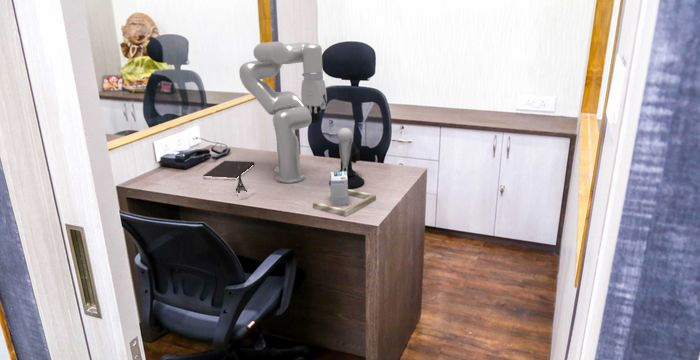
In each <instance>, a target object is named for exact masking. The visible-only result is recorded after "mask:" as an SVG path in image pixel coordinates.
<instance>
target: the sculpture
mask: <svg viewBox="0 0 700 360" xmlns="http://www.w3.org/2000/svg"><path fill="white" fill-rule="evenodd" d="M337 137H338V138H337V139H338V141H339V142H338V148H339V149H338V151H339V153H338V154H339V157H340V158H339V159H340V170H338V172H342V171H346V172H347V178H348V189H350V190H357V189H359V188H362V187H363V186H364V185H365V180H364V179H363V178H362V177H361V175H358V174H356V173H357V172H356V170H354V169H353V164H356V163H357V162H360V158H361V157H360V154H361V153H360V149H359V148H357V144H356V143H355V142H354V141H353V132H352V130H351V129H350V128H348V127H342V128H341V129H339V130H338V131H337ZM329 187H331V184H330V180H329Z"/></svg>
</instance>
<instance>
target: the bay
mask: <svg viewBox="0 0 700 360" xmlns="http://www.w3.org/2000/svg"><path fill="white" fill-rule="evenodd" d="M348 196H351V197H355V198H359V199H362V200H360V201H357V203H355V204H353V205H351V206H349V207H347V208H345V209H344V208H340V207H337V206H332V205H328V204H325V203H321V202H317V201H314V202H313V203H312V208H313V209H315V210H318V211H323V212H327V213H330V214H334V215H339V216H340V217H341V216H343V217H345V218H347V217H348V216H350V215H352V214H354V213H355V212H357V211H359V210H361V209H362V208H364V207H366V206H369V204H371V203H373V202H375V201H376V200H377V194H373V193H369V192H363V191H358V190H356V189H348Z"/></svg>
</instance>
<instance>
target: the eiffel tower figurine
mask: <svg viewBox="0 0 700 360" xmlns="http://www.w3.org/2000/svg"><path fill="white" fill-rule="evenodd" d="M238 173H239V178H238V180H237V186H236V188H235V190H236V191H237V192H238V193H240V191H243V190H244V191H246V192H247V190H248V189H247V188H245V187H246V186H245V185H244V184H243V180H242V176H241V175H240V167H239V164H238Z"/></svg>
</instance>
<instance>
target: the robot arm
mask: <svg viewBox="0 0 700 360" xmlns="http://www.w3.org/2000/svg"><path fill="white" fill-rule="evenodd" d="M253 57H254V58H255V60H251V61H246V62H244V63H243V64H242V65H240V67H239V71H238V72H239V78H240V81H241V83H242V85H243V86H244V88H245V89H246V90H247V91H248V92H249V93H250V94H251V95H252V96H253V97H254V99H256V101H258V103H259V104H260V105H261V107H262V108H263V109H264V111H265V112H266V113H267V114H269V115H271V116H272V123H273V127H274V132H275V136H276V137H275V138H276V146H277V158H278V166H276V167H275V169H274V170H273V172H274V173H277V176H276V177H275V178H276V179H275V180H276V181H277V182H279V183H281V182H282V184H283V183H284V184H295V183H299V182H301V181H303V180H304V179H305V174H303V173H302V172H301V171H302V170H301V158H300V157H301V156H300V142H299V138H298V136H297V135H296V133H295V132H294V131H297V130H300V129H304V128H307V127H309V126H310V125H311V123H312V124H313V123H314V124H317V123H320V122H321V119H320V117H321V115H320V113H321V111H322V110H325V109H327V103H328V96H327V87H326V83H325V80H324V74H323V73H324V72H323V71H324V70H323V49H322V46H321V45H320V44H317V43H314V44H313V43H309V42H296V43H288V44H284V43H283V42H281V41H267V42H260V43H259V44H257V45H256V46H255V47H254V49H253ZM301 63H302V68H303V70H302V71H303V73H302V77H303V79H302V81H301V91H300V94H301V95H300V98H299V96H298V95H297V94H296V93H295V92H292V91H288V90H287V91H281V92H280V91H278V92H277V91H276V90H274V89H273V87H272V86H271V85H269V83H267V82H265V81H263V80H266V79H273V78H274V77H276V76H277V75H278V73H279V71H280V70H281V68H282V66H283V65H292V64H301Z"/></svg>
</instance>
